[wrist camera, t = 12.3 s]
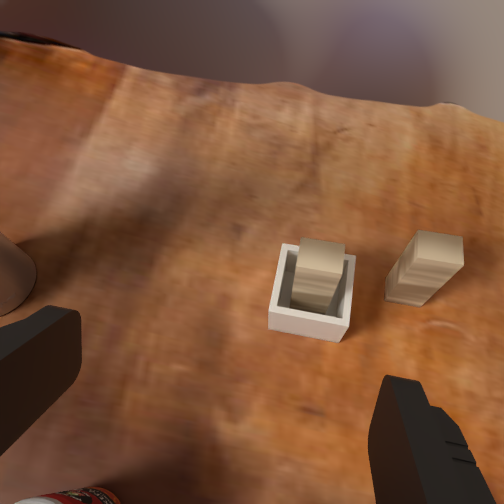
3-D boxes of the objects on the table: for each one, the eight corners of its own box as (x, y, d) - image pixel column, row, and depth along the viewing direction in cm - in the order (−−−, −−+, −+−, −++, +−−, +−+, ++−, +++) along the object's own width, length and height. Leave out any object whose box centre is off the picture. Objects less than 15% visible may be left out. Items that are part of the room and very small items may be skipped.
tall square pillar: (324, 315, 42) (342, 274, 33) (289, 309, 43) (295, 266, 33) (327, 291, 44) (345, 244, 34) (293, 284, 44) (300, 236, 34)
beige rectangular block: (419, 307, 43) (464, 265, 34) (384, 300, 44) (417, 257, 34) (420, 283, 45) (462, 236, 35) (385, 277, 45) (418, 229, 36)
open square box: (338, 343, 42) (349, 326, 37) (268, 328, 43) (268, 311, 38) (345, 278, 45) (355, 255, 40) (280, 267, 46) (282, 243, 41)
